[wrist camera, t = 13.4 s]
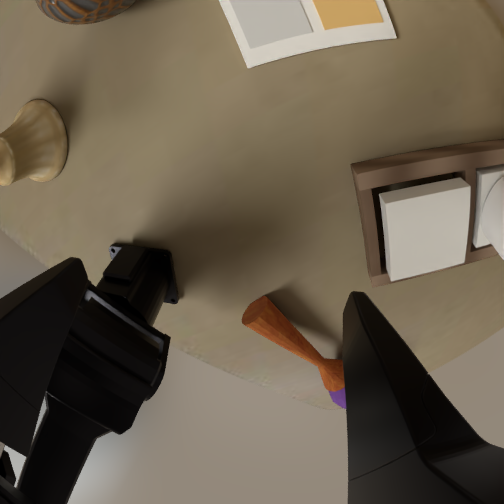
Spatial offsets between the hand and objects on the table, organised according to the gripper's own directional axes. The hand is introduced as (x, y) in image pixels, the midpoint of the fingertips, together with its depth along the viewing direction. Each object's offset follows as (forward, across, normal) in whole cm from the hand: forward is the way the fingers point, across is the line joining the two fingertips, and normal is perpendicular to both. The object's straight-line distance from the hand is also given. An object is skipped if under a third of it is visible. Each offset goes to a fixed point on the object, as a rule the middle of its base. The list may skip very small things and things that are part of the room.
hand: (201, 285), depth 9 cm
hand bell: (+13, +20, -2) cm, 24 cm away
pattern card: (+13, -3, -11) cm, 17 cm away
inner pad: (+11, -13, +3) cm, 17 cm away
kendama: (+14, -8, +20) cm, 26 cm away
